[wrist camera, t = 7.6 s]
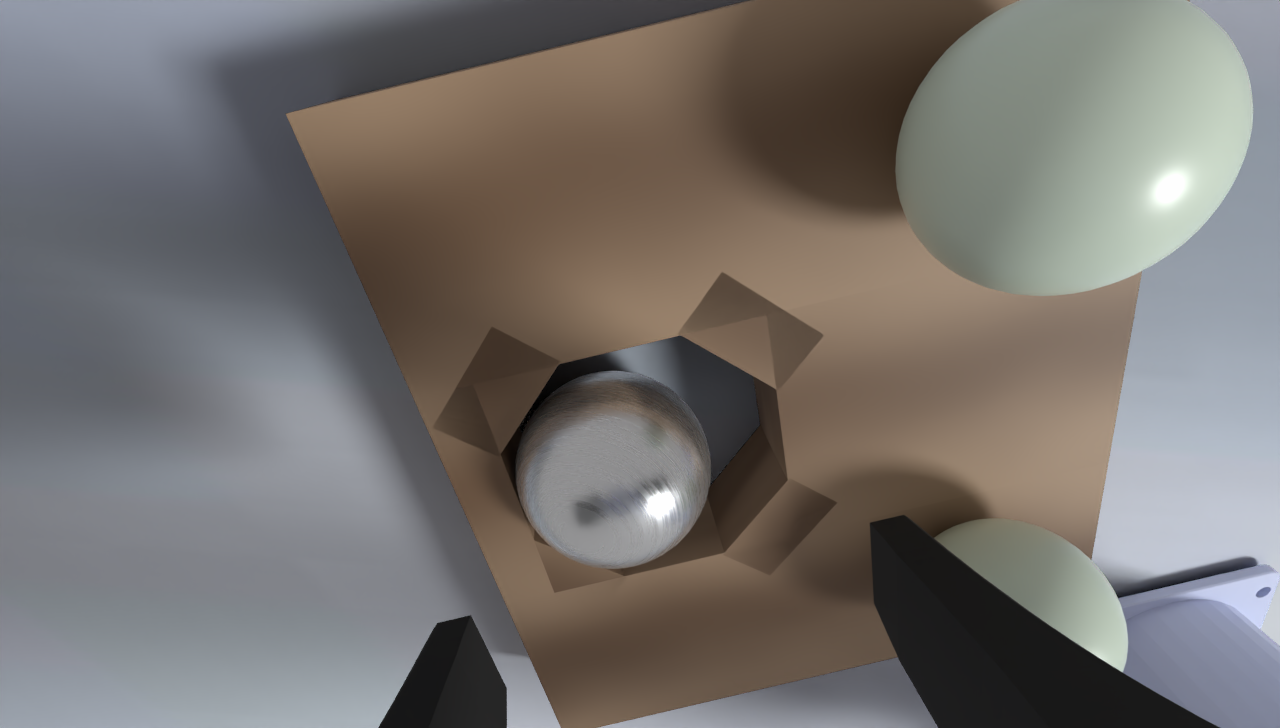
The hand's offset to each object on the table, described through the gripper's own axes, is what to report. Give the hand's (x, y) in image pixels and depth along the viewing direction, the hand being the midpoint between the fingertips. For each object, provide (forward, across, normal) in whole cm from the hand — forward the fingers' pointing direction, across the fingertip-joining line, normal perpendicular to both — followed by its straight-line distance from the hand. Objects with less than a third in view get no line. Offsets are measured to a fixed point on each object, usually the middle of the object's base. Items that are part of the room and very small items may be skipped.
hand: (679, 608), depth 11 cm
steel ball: (+4, +1, 0) cm, 4 cm away
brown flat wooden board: (+7, -3, 0) cm, 7 cm away
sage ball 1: (+2, -7, -6) cm, 10 cm away
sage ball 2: (+2, -7, +5) cm, 9 cm away
